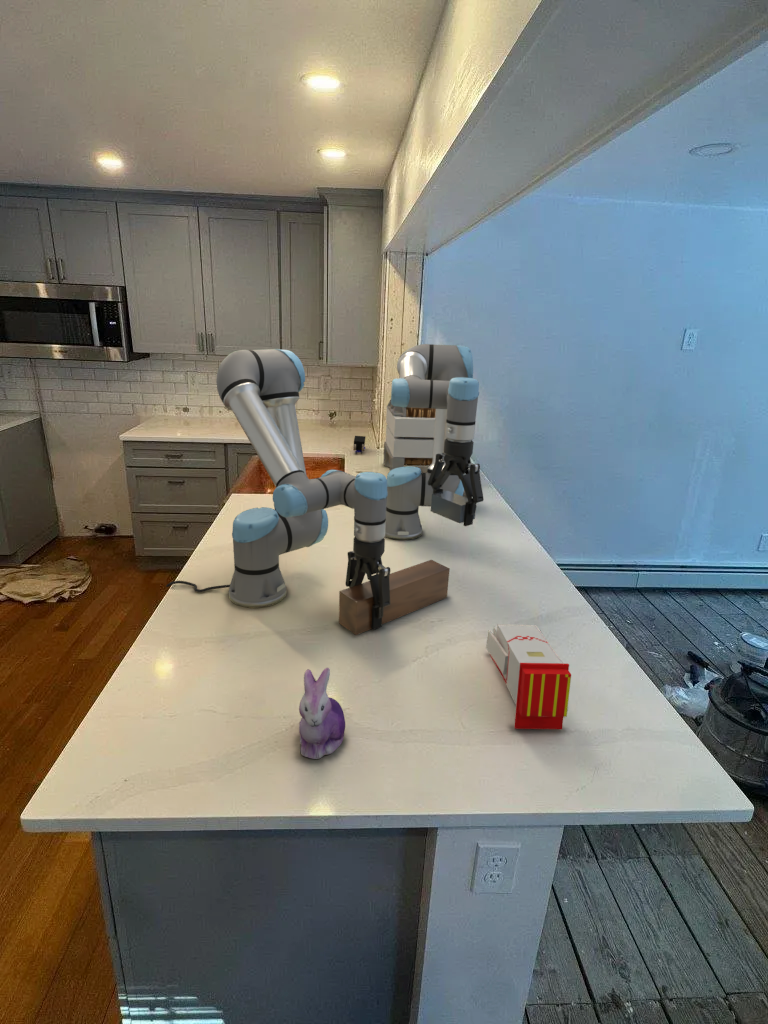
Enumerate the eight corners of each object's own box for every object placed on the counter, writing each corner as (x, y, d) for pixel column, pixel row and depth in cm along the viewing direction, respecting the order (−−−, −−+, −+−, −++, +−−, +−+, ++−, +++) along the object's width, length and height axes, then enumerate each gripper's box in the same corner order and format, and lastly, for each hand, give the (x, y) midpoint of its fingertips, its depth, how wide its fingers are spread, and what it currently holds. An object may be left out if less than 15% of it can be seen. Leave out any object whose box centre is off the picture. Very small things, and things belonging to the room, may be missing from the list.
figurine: (306, 770, 97) (306, 697, 91) (287, 731, 105) (286, 662, 100) (357, 752, 101) (359, 682, 96) (334, 717, 109) (335, 650, 104)
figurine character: (365, 457, 304) (365, 447, 318) (365, 443, 301) (365, 434, 315) (352, 456, 304) (353, 447, 318) (352, 443, 301) (353, 434, 314)
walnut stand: (338, 623, 142) (339, 591, 139) (429, 588, 162) (431, 559, 159) (355, 635, 137) (356, 602, 134) (447, 597, 157) (449, 568, 154)
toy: (533, 609, 133) (580, 670, 104) (528, 661, 136) (573, 736, 107) (482, 608, 133) (514, 669, 103) (478, 661, 135) (509, 735, 106)
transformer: (382, 463, 289) (386, 382, 275) (445, 464, 293) (451, 384, 279) (390, 482, 257) (394, 392, 243) (460, 483, 261) (468, 394, 247)
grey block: (430, 511, 156) (431, 494, 154) (445, 507, 160) (447, 490, 158) (459, 523, 148) (461, 505, 147) (474, 519, 152) (476, 501, 150)
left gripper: (331, 527, 140) (330, 609, 148) (385, 555, 126) (380, 643, 134) (355, 521, 145) (353, 600, 153) (409, 547, 131) (404, 633, 138)
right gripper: (417, 432, 153) (413, 508, 160) (484, 450, 136) (475, 535, 144) (437, 429, 157) (432, 503, 165) (504, 447, 141) (494, 528, 148)
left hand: (366, 620), depth 143 cm, fingers open, 7 cm apart
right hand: (452, 518), depth 154 cm, fingers closed on grey block, 11 cm apart
